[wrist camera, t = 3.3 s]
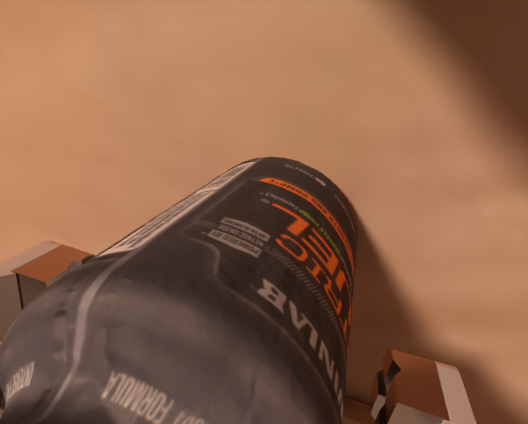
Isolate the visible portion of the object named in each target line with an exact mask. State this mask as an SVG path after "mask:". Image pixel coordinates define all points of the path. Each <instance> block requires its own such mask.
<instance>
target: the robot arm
mask: <svg viewBox="0 0 528 424" xmlns="http://www.w3.org/2000/svg"><path fill="white" fill-rule="evenodd" d="M94 256H95V255H93V254H90V253H87V252H84V251H81V250H78V249H75V248H72V247H69V246H65V245H63V244H60V243H57V242H54V241H45V242H43V243H41V244H38V245H36V246H34V247H32V248H30V249H28V250H26V251H24V252H22V253H20V254H18V255H16V256H14V257H12V258H10V259H8V260H6V261H4V262H2V263H0V342H1V341H3V339H4V337H5V335H6V332H7V330H8V329H9V327H10V326H11V324H12V323H13V322H14V320H15V319H16V317H17V316H18V314H19V313H20V312H21V311H22V309H23V308H24V307H25V306H26V305H27V304H28V303H29V302H30V301H31V300H32V299H33V298H34V297H36V296H37V295H38V294H39V293H40V292H41V291H43V290H44V289H46V288H47V287H48V286H50V285H51V284H53V283H54V282H56V281H57V280H59V279H60V278H62V277H64V276H65V275H67V274H68V273H70V272H71V271H73V270H75V269H76V268H78V267H79V266H81V265H82V264H84V263H86V262H87V261H89V260H90V259H92V258H93V257H94ZM3 413H4V409H2V408H0V418H1V416H2V414H3ZM371 415H372V416H373V418H374V419H375V422H374V424H477V423H476V420H475V417H474V414H473V411H472V408H471V405H470V402H469V399H468V396H467V393H466V390H465V387H464V384H463V381H462V378H461V375H460V372H459V370H458V369H457V368H456V367H454V366H451V365H447V364H444V363H440V362H437V361H431V360H428V359H425V358H422V357H418V356H415V355H412V354H409V353H405V352H402V351H399V350H396V349H392V348H388V350H387V351H386V353H385V355H384V358H383V370H382V371H380V372H378V373H377V376H376V378H375V381H374V384H373V389H372V394H371Z"/></svg>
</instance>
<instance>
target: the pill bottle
mask: <svg viewBox="0 0 528 424" xmlns="http://www.w3.org/2000/svg"><path fill="white" fill-rule="evenodd" d="M356 250H357V228H356V223H355V220H354V216H353V214H352V211H351V208H350V206H349V203H348V201H347V199H346V198H345V197H344V195H343V194H342V193H341V191H340V190H339V189H338V187H337V186H336V185H335V184H334V183H333V182H332V181H331V180H330V179H329V178H327V177H326V176H325V175H323V174H322V173H321V172H319V171H317V170H315V169H313V168H311V167H309V166H307V165H305V164H303V163H301V162H299V161H295V160H291V159H286V158H279V157H264V158H255V159H251V160H248V161H245V162H242V163H240V164H238V165H236V166H234V167H232V168H231V169H229V170H228V171H226V172H225V173H223V174H222V175H220V176H218V177H216V178H215V179H213V180H212V181H211V182H209V183H208V184H206V185H205V186H203V187H202V188H200V189H199V190H197V191H195V192H193V193H192V194H190V195H189V196H188V197H186V198H184V199H183V200H181V201H179V202H178V203H176V204H175V205H173V206H172V207H170V208H169V209H167V210H166V211H164V212H162V213H161V214H159V215H158V216H156V217H154V218H153V219H151V220H150V221H149V222H147V223H146V224H144V225H142V226H141V227H139V228H138V229H136V230H135V231H133V232H132V233H130V234H129V235H127V236H126V237H124V238H123V239H121V240H119V241H118V242H116V243H115V244H113V245H111V246H110V247H108V248H107V249H105V250H104V251H102V252H101V253H99V254H98V255H96V256H94V257H93V258H92V259H90V260H89V261H87V262H86V263H84V264H82V265H81V266H79V267H78V268H76V269H75V270H73V271H71V272H70V273H68V274H67V275H65V276H64V277H62V278H60V279H59V280H57V281H56V282H54V283H53V284H51V285H50V286H48V287H47V288H46V289H44V290H43V291H41V292H40V293H39V294H38V295H37V296H36V297H34V298H33V299H32V300H31V301H30V302H29V303H28V304H27V305H26V306H25V307H24V308H23V309H22V311H21V312H20V313H19V314H18V316H17V317H16V319H15V320H14V322H13V323H12V324H11V326H10V327H9V329H8V330H7V332H6V335H5V337H4V339H3V341H2V343H1V345H0V408H2V409H4V413H3V414H2V416H1V418H0V424H342V420H343V412H344V396H345V384H346V365H347V355H348V344H349V333H350V320H351V310H352V297H353V286H354V273H355V262H356Z"/></svg>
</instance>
